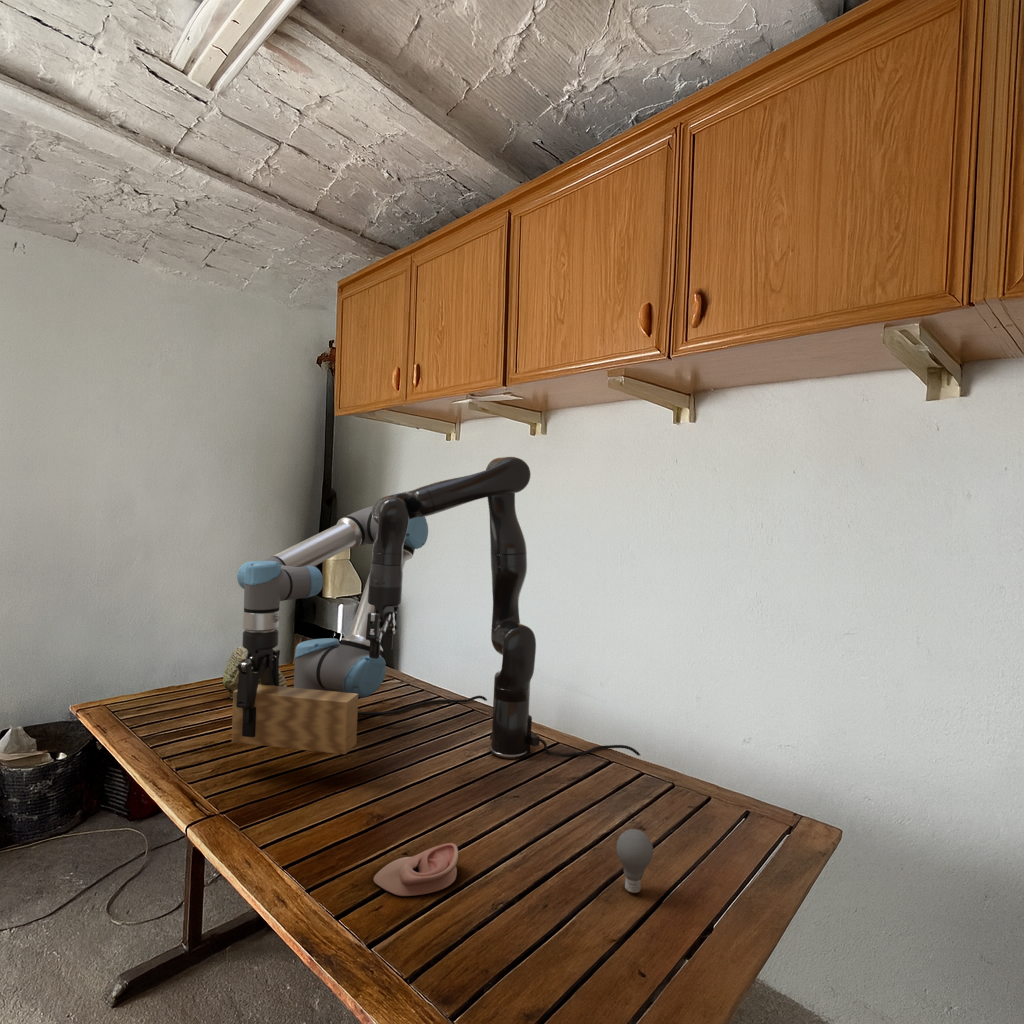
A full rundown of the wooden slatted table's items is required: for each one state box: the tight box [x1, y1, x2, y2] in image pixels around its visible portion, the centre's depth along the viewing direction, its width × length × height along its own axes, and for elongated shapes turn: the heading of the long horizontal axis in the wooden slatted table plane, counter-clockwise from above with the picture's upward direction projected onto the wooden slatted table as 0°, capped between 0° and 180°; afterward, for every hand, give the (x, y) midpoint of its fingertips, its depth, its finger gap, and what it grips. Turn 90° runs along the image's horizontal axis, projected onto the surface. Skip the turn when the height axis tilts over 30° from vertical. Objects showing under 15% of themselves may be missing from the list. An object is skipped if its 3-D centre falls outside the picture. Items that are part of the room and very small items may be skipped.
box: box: [231, 684, 359, 755], centre depth 142 cm, size 27×6×12 cm, turn 81°
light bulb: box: [615, 828, 654, 894], centre depth 106 cm, size 6×6×10 cm
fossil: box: [222, 646, 288, 699], centre depth 198 cm, size 9×18×15 cm, turn 132°
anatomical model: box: [373, 842, 459, 897], centre depth 107 cm, size 13×4×12 cm
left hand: (257, 730), depth 144 cm, fingers closed on box, 6 cm apart
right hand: (381, 653), depth 145 cm, fingers open, 8 cm apart
